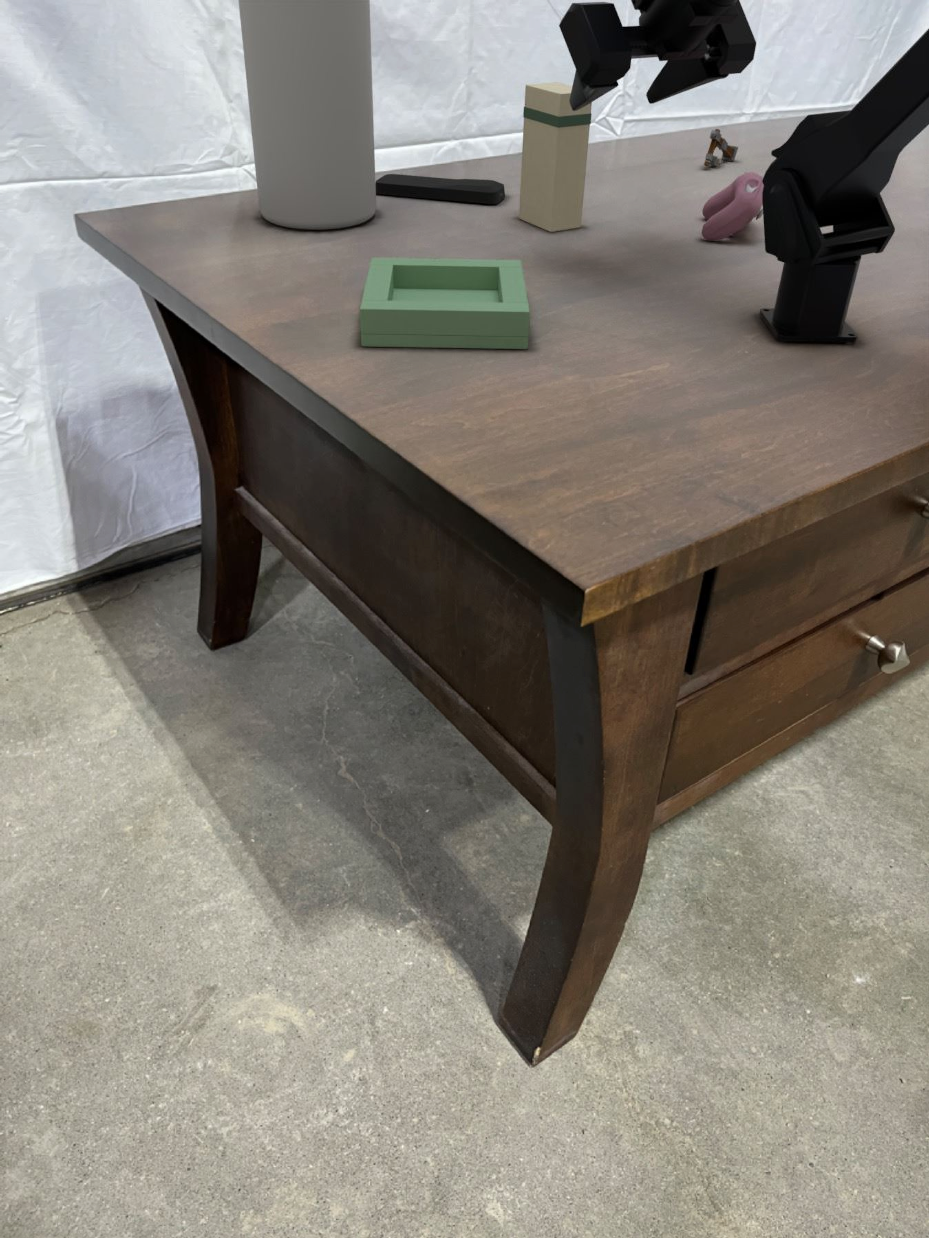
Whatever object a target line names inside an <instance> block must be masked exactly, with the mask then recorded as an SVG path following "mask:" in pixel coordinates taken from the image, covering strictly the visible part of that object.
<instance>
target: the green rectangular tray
mask: <svg viewBox="0 0 929 1238" xmlns="http://www.w3.org/2000/svg"><path fill="white" fill-rule="evenodd" d="M525 281H526V280H525V277H524V270H523V264H522V260H521V259H484V258H483V259H480V258H478V259H477V258H475V259H474V258H432V257H431V258H423V257H378V256H377V257H375V256H374V257H373V256H372V257H371V259H370V263H369V266H368V272H367V275H366V280H365V285H364V289H363V294H362V297H361V303H360V306H359V320H360V321H359V322H360V323H359V324H360V344H361V345H360V346H361V347H368V348H369V347H372V348H373V347H374V348H375V347H376V348H377V347H378V348H379V347H380V348H383V347H384V348H428V349H429V348H431V349H433V348H434V349H438V348H439V349H487V350H491V349H492V350H493V349H495V350H528V349H529V335H530V319H531V318H530V317H531V311H530V305H529V299H528V293H527V287H526V282H525Z"/></svg>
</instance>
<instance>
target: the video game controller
mask: <svg viewBox="0 0 929 1238" xmlns="http://www.w3.org/2000/svg"><path fill="white" fill-rule="evenodd" d="M763 177H764V176H761V175H760V174H759V173H756V172H753V171H752V172H751V171H749V172H748V171H747V170H745V172H743V173H742V174H741V175H738V176H737V177H736V178H735V179H734V181H732V182H731V183H730V184H729V185H728V186H725V188H723V189H722V190H720V191H718V192H717V193H716V194H714V195H713V196H711V197H710V198H708V199H707V201H706V202H705V203H704V205H703V207H702V211H701V212H702V216H703V218H705V220H706V221H705V223H703V225H702V228H701V236H702V238H703V239H704V240H705V241H707V242H713V241H720V240H721V241H722V240H724V239H726V238H728V237H730V236H733V237H737V236H738V235H739V234H740V233H741V231H742V230H743V229H744V228H745V227H747V226H748V225H749V224H750V223H751V222H752V221H753V219H755V221H756V220H759V219H761V217H763V208H761V207H763V203H762V192H763V187H764V185H763V183H762V180H763Z"/></svg>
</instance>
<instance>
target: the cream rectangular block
mask: <svg viewBox="0 0 929 1238" xmlns="http://www.w3.org/2000/svg"><path fill="white" fill-rule="evenodd" d="M572 86H573V85H570V84H566V83H562V82H558V81H556V82H555V81H554V82H543V83H542V82H541V83H529V84H525V89H524V106H523V115H522V116H523V117H522V118H523V127H522V129H523V131H522V146H521V147H522V148H521V167H520V169H521V170H520V186H519V187H520V188H519V205H518V206H519V207H518V219H519V220H522V221H524V222H526V223H528V224H531V225H533V226H536V227H538V228H540V229H543V230H545V231H547V232H549V233H555V232H561V231H567V230H571V229H572V230H573V229H579V228H581V227H582V219H583V207H584V199H585V198H584V197H585V185H586V174H587V165H588V164H587V163H588V150H589V139H590V128H591V124H592V116H593V115H592V107H593V106H592V105H593V102H591V103H590V104H588V105H586V106H585V107H583V108H581V109H579V110H577V111H573V110H572V108H571V105H570V102H569V99H570V95H571V90H572Z"/></svg>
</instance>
